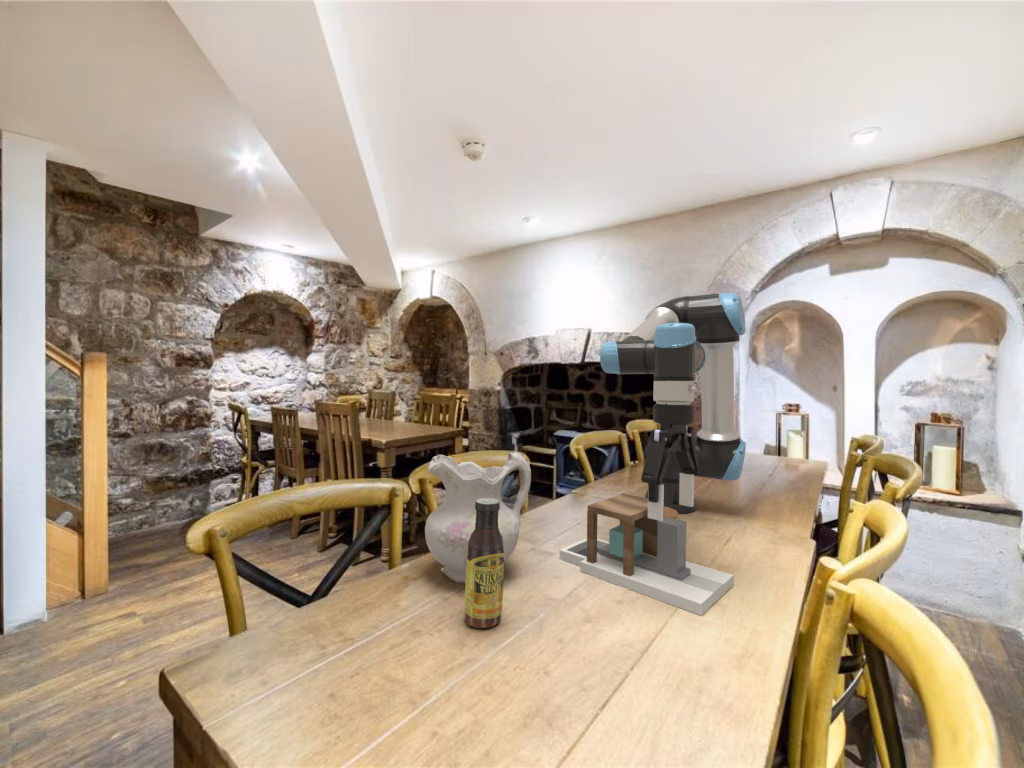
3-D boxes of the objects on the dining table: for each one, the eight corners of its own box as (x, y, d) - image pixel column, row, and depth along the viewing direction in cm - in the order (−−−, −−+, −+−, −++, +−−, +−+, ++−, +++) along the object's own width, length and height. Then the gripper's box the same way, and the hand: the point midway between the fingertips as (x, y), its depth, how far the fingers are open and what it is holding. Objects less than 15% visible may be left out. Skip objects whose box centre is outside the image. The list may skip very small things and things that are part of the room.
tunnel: (622, 544, 105) (622, 493, 105) (663, 556, 98) (664, 502, 98) (586, 561, 95) (587, 505, 94) (629, 576, 88) (630, 516, 87)
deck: (595, 542, 111) (595, 534, 111) (733, 585, 89) (733, 574, 89) (553, 561, 99) (553, 551, 99) (701, 615, 77) (701, 603, 77)
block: (621, 546, 100) (621, 524, 100) (642, 553, 96) (642, 529, 96) (609, 553, 96) (609, 529, 96) (630, 559, 93) (630, 535, 93)
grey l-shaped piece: (608, 548, 101) (608, 503, 101) (690, 573, 89) (691, 522, 88) (598, 553, 99) (598, 507, 98) (681, 580, 86) (682, 527, 86)
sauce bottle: (473, 634, 71) (473, 508, 71) (458, 616, 76) (459, 498, 76) (510, 624, 74) (511, 503, 74) (494, 607, 79) (494, 494, 79)
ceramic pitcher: (506, 552, 107) (503, 446, 108) (549, 579, 90) (544, 452, 91) (415, 569, 98) (413, 453, 99) (444, 603, 80) (440, 461, 81)
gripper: (662, 405, 77) (660, 530, 77) (717, 402, 95) (715, 504, 95) (623, 403, 82) (621, 520, 82) (681, 401, 100) (680, 497, 100)
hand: (671, 512), depth 89 cm, fingers open, 13 cm apart
